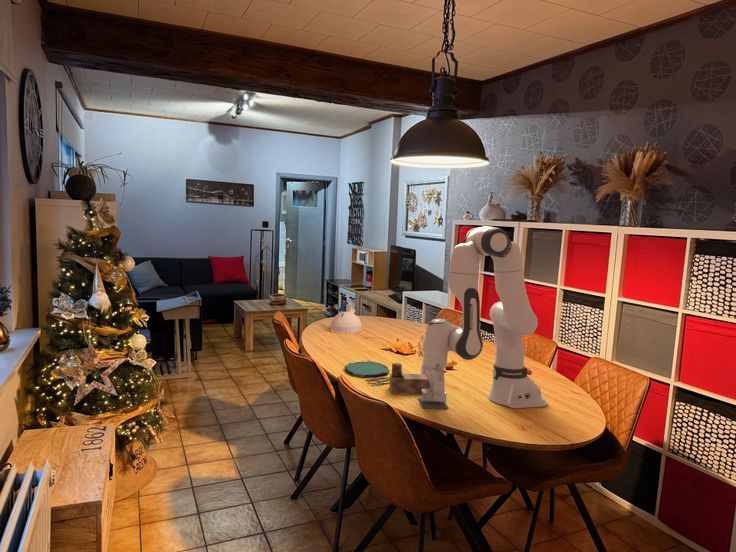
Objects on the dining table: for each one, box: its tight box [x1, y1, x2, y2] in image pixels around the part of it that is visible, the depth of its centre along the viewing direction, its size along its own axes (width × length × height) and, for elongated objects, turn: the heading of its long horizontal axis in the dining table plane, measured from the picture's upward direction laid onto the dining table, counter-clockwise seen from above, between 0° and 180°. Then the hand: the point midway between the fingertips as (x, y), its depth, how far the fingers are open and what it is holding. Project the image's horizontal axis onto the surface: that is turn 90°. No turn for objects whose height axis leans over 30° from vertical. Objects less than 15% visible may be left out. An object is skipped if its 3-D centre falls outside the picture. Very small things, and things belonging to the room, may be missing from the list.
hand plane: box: [389, 362, 430, 395], centre depth 208 cm, size 20×7×12 cm, turn 93°
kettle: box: [329, 301, 363, 334], centre depth 314 cm, size 20×21×18 cm
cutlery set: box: [344, 360, 390, 387], centre depth 228 cm, size 20×30×2 cm, turn 24°
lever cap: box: [420, 389, 447, 402], centre depth 194 cm, size 9×4×4 cm, turn 93°
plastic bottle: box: [420, 340, 426, 374], centre depth 227 cm, size 6×7×20 cm
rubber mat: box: [417, 397, 450, 410], centre depth 194 cm, size 10×10×1 cm
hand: (433, 395), depth 194 cm, fingers closed on lever cap, 4 cm apart
